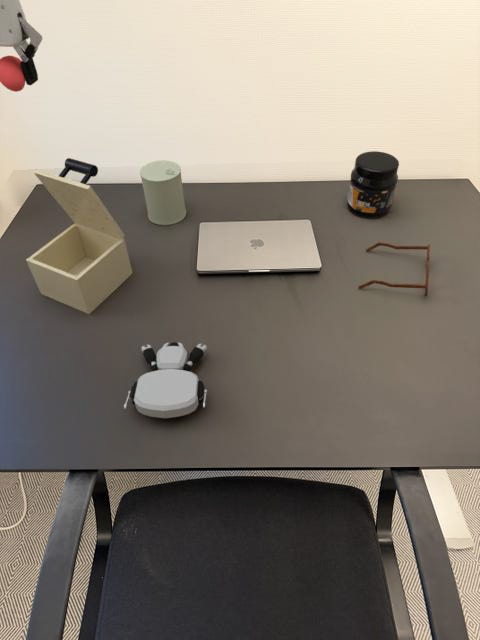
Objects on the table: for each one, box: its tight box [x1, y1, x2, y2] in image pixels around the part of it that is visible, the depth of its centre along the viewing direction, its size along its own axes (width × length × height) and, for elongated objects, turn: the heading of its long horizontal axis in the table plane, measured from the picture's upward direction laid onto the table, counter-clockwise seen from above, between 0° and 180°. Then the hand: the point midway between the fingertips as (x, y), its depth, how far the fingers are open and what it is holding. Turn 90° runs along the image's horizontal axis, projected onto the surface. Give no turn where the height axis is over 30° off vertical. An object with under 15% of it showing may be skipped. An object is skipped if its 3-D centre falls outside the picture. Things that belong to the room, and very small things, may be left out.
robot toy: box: [123, 341, 208, 419], centre depth 76 cm, size 12×4×15 cm
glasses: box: [358, 242, 431, 297], centre depth 94 cm, size 13×13×5 cm
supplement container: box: [346, 150, 400, 219], centre depth 109 cm, size 10×10×12 cm
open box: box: [25, 222, 133, 315], centre depth 93 cm, size 14×13×9 cm
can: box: [139, 160, 187, 226], centre depth 108 cm, size 9×9×12 cm
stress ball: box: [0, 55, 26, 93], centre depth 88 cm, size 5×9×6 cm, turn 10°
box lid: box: [33, 157, 126, 239], centre depth 88 cm, size 14×13×6 cm
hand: (16, 80), depth 89 cm, fingers closed on stress ball, 6 cm apart
